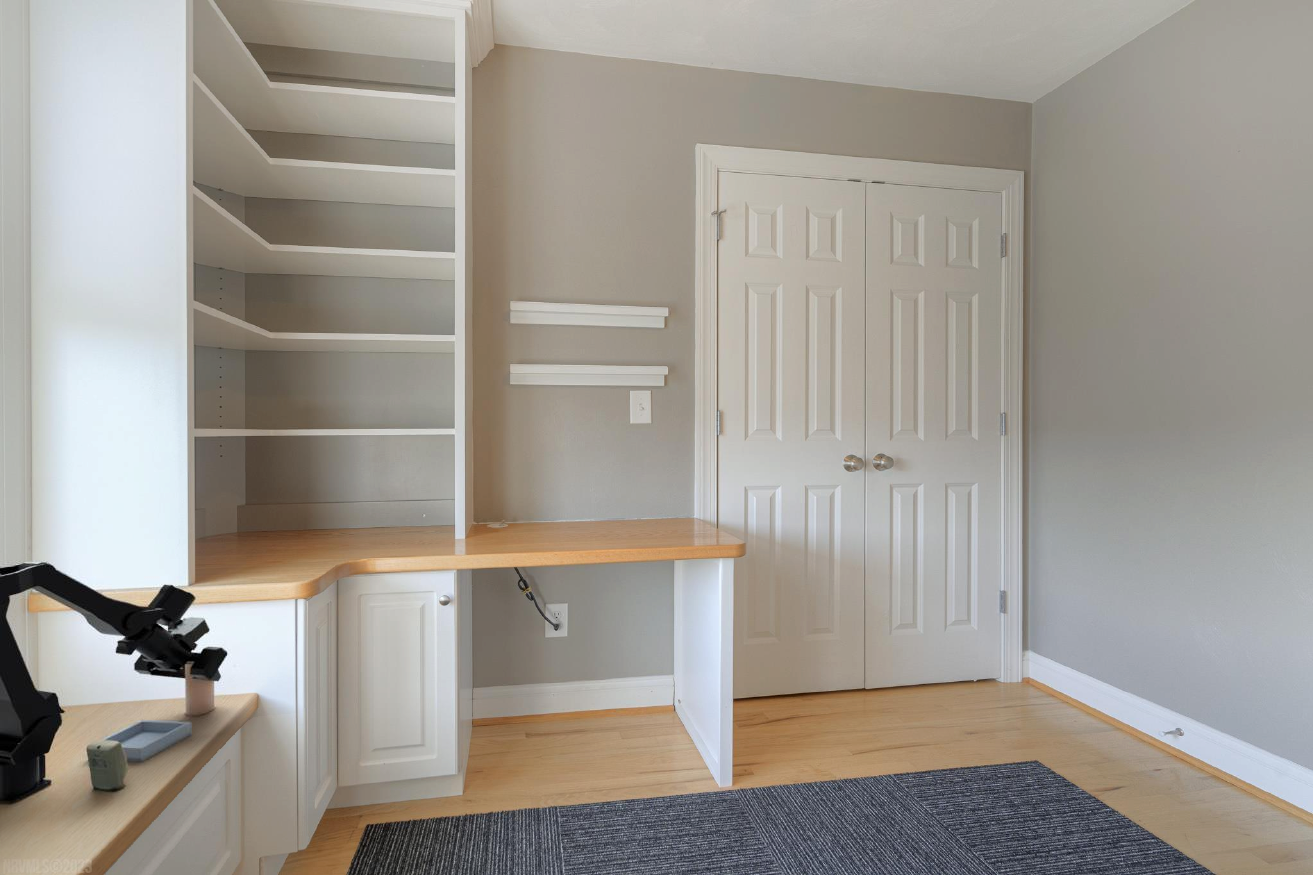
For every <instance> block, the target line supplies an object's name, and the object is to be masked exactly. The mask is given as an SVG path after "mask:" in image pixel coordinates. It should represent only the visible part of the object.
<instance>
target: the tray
mask: <svg viewBox="0 0 1313 875" xmlns="http://www.w3.org/2000/svg"><path fill="white" fill-rule="evenodd" d="M191 735H192V722H191V721H175V720H154V719H153V720H152V719H141V720H139V721H136V722H134V723H133V724H131V725H129V726H127V727H124V728H123V729H120V730H118V731H117V732H114V733H112V734H110V735H108V736H106V737H103V738H102V739H100V740H98V741H104V740H111V741H118V742H120V743H121V745H122V747H123V749H124V752H125V754H126V759H127V762H137V763H143V762H145V761H146V760H148V759H150V758H151V757H153V756H155V755H157V754H159V753H160V752H163V751H164V750H166V749H167V748H169V747H171V746H173V745H175V744H177V743H179V742H180V741H182V740H184V739H185V738H188V737H190V736H191Z"/></svg>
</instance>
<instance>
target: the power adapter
mask: <svg viewBox="0 0 1313 875" xmlns="http://www.w3.org/2000/svg"><path fill="white" fill-rule="evenodd" d="M86 756H87V760H88V761H87V762H88V767H89V772H90V773H89V775H90V781H91V785H92V788H93V790H94V791H103V792H117V791H119V790H121V789H123V788H125V787H126V785H125V781H124V780H125V778H126V776H127V774H128V773H129V772H128V771H129V765H128V761H127V759H126V754H125V752H124V749H123V747H122V745H121V743H120V742H118V741H111V740H104V741H99V740H97V741H93V742H90V743H89V744H88V745H87V746H86Z"/></svg>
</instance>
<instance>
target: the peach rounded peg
mask: <svg viewBox="0 0 1313 875" xmlns="http://www.w3.org/2000/svg"><path fill="white" fill-rule="evenodd" d="M191 666H192V665H191V664H185V678H184V683H185V684H184V688H185V691H184V692H185V695H184V696H185V715H187V716H200V715H204V714H206V713H209V711H210V712H212V711H214V709H215V708H216V707H215V703H216V702H215V698H216V697H215V681H210V680H200V679H193V676H192V675H190V668H191Z"/></svg>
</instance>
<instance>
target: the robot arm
mask: <svg viewBox="0 0 1313 875" xmlns="http://www.w3.org/2000/svg"><path fill="white" fill-rule="evenodd" d="M30 589H32V590H34V591H36V592H39V593H40V594H42V595H43V596H46V597H47V598H49V599H52V600H54V601H55V602H57V603H60V604H62V605H63V606H66V607H68V608H69V609H72V610H74V611H75V612H77V613H79V614H80V615H82V616H83V617H84V618H85V620H86V622H87V623H88V624H89V625H90V626H91V627H93V628H94V629H95V631H97V632H99V633H100V634H103V635H108V636H119V637H123V638H122V639H120V640H117V646H116V647H115V653H116V654H118V655H119V654H120V655H127V656H132V655H133V654H134V652H135V651H136V652H137V653H139V654H140V656H139V657H138V658H137V659H136V661H134V664H133V665H134V666H133V668H134V669H133V670H134V671H135V672H137V673H139V674H140V675H148V676H153V677H154V676H155V677H166V678H174V679H176V678H178V679H185V664H191V665H192V666H191V668H190V675H192V676H193V679H200V680H210V681H214V682H219V681H220V679H222V675H221V673H220V671H219V669H220V667H221V666H222V664H223V662H224V661H225V659H226V658H227V656H228V651H227V650H225V648H223V647H219V646H218V647H217V646H206V647H204V648H202V650H201V651H200V652H192V651H195V650H196V648H197V647H198V644H197V643H196V642H198V641H199V640H200V639H201V638H202V637H204V636H205V635H206V634H209V632H210V630H211V629H210V628H209V625H208V624H207V621H206V619H205V618H204V617H196V616H195V617H193V616H192V617H191V616H190V617H184V618H183V616H184V615H185V614H186V613H187V611H188V610H189V608H190V607H191V606H192V605H193V603H194V602H195V600H196V597H195V595H194V594H193V593H191V592H189V591H187V590H184V589H181V588H179V587H175V586H174V585H173V584H163V585H162V586H161V588H160V589H159V590H158V593H157V594H156V595H155V597H154V598H153V599H152V601H150V603H149V604H148V605H147V606H141V605H137V604H133V603H130V602H127V601H122V600H120V599H119V600H118V599H115V598H112V597H108V596H106V595H104V594H103V593H101V592H99V591H97V590H95V589H93V588H91V587H89V586H88V585H86V584H84V583H82V582H81V581H79V580H77V579H75V578H73V577H72V576H70V575H68V574H66V573H65V572H62V571H61V570H59V569H58V568H56V567H55V565H53V564H52V563H50V562H47V561H46V562H44V561H25V562H22V563H18V564H13V565H9V566H2V567H0V804H13V803H16V802H18V801H19V800H22V799H23V798H26V797H28V796H29V795H31V794H33V793H35V792H37V791H39V790H40V789H43V788H45V787H47V786H49V785H51V784H52V781H53V780H52V779H46V776H47V775H46V770H47V768H46V754H48V753H49V752H50V750H51V747H52V745H53V743H54V742H53V741H54V740H55V736H56V734H57V732H58V731H59V729H60V727H61V726H62V725H63V717H62V715H61V714H65V712H66V711H65V710H64V709H63V708H62V707H61V705H60V702H59V697H58V695H57V693H56V692H51V691H45V690H38V688H36V686H35V683H34V682H33V679H32V676H31V674H30V672H29V670H28V667H27V665H26V661H25V660H24V657H23V654H22V652H21V650H20V648H19V645H18V643H17V641H16V638H15V635H14V633H13V631H12V628H11V626H10V623H9V621H8V618H7V614H8V610H9V606H10V602H11V596H14V595H18V594H21V593H24V592H25V591H28V590H30ZM182 618H183V619H182ZM163 626H166V627H167V628H165V627H163ZM15 801H16V802H15Z"/></svg>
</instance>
